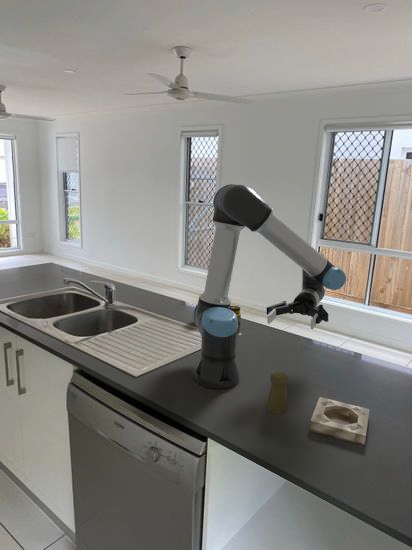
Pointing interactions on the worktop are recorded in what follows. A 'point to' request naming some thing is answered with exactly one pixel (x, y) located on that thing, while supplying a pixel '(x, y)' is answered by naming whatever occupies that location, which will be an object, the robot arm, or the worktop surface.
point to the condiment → (237, 312)
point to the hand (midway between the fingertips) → (289, 322)
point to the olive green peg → (278, 393)
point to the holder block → (340, 421)
